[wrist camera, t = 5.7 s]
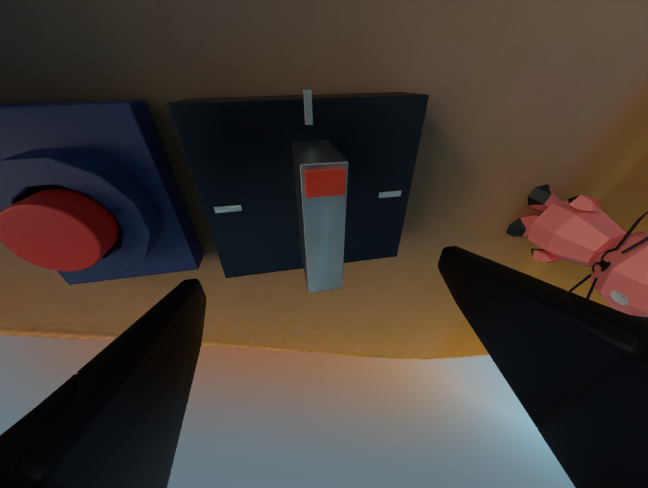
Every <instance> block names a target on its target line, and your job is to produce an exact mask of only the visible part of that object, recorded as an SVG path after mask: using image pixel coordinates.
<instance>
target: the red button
mask: <svg viewBox="0 0 648 488" xmlns="http://www.w3.org/2000/svg"><path fill="white" fill-rule="evenodd" d="M118 237H119V226H118V223H117V221H116V219H115V218H114V216H113V215H112V214H111V212H110V211H109V210H108V209H107V208H106V207H104V206H103V205H102V204H101V203H99V202H98V201H96V200H94V199H93V198H91V197H89V196H87V195H84V194H82V193H79V192H75V191H72V190H66V189H48V190H43V191H40V192H38V193H36V194H34V195H32V196H29V197H27V198H25V199H23V200H21V201H19V202H17V203H15V204H13V205H11V206H9V207H7V208H5V209H4V210H2V211H1V212H0V239H1V241H2V242H3V243H4V245H5V246H6V247H7V248H8V249H10V250H11V251H12V252H13V253H15V254H16V255H18V256H19V257H21V258H22V259H24V260H26V261H28V262H30V263H32V264H35V265H38V266H41V267H44V268H47V269H52V270H57V271H78V270H83V269H86V268H89V267H91V266H93V265H94V264H96V263H97V262H98V261H99V260H100V259H101V258H102V257H103V256H104V255H105V254H106V252H107V251H108V250H109V249H110V248H111V247H112V246H113V245H114V244H115V243H116V242H117V240H118Z"/></svg>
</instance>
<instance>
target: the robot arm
mask: <svg viewBox="0 0 648 488" xmlns="http://www.w3.org/2000/svg"><path fill="white" fill-rule="evenodd" d="M438 268H439V271H440V273H441V275H442V277H443V279H444V281H445V283H446V285H447V287H448V288H449V290H450V292H451V294H452V296H453V298H454V300H455V302H456V304H457V305H458V307H459V308H460V310H461V311H462V313H463V315H464V316H465V318H466V319H467V321H468V322H469V324H470V325H471V327H472V328H473V330H474V331H475V333H476V335H477V336H478V338H479V339H480V341H481V342H482V344H483V345H484V347H485V348H486V350H487V352H488V353H489V355H490V356H491V358H492V359H493V361H494V362H495V364H496V365H497V367H498V368H499V370H500V372H501V373H502V374H503V376H504V378H505V379H506V381H507V382H508V384H509V385H510V387H511V388H512V390H513V392H514V393H515V395H516V396H517V398H518V399H519V401H520V402H521V404H522V405H523V407H524V408H525V410H526V412H527V413H528V415H529V416H530V418H531V419H532V421H533V422H534V424H535V425H536V427H538V430H539V432H540V433H541V435H542V437H543V438H544V440H545V441H546V443H547V444H548V446H549V447H550V449H551V450H552V452H553V454H554V455H555V457H556V458H557V460H558V461H559V463H560V464H561V466H562V467H563V469H564V470H565V472H566V474H567V475H568V477H569V478H570V480H571V481H572V483H573V484H574V486H575V487H576V488H648V321H646V320H643V319H640V318H637V317H634V316H632V315H629V314H626V313H623V312H621V311H618V310H615V309H613V308H610V307H607V306H604V305H602V304H599V303H597V302H594V301H592V300H589V299H587V298H584V297H581V296H579V295H577V294H574V293H572V292H567V291H566V290H564V289H561V288H559V287H556V286H554V285H551V284H549V283H546V282H544V281H542V280H539V279H537V278H534V277H532V276H529V275H527V274H524V273H522V272H519V271H517V270H514V269H512V268H509V267H507V266H504V265H502V264H499V263H497V262H494V261H492V260H489V259H487V258H484V257H482V256H479V255H477V254H474V253H472V252H469V251H467V250H464V249H462V248H459V247H457V246H450V247H445V248H444V249H443V250H442V253H441V256H440V259H439V262H438ZM205 309H206V295H205V293H204V291H203V288H202V286H201V284H200V282H199V280H198V279H188V280H184V281H182V282H181V283H180V284H179V285H178V286H177V287H175V288H174V289H173V290H172V291H171V292H170V293H168V294H167V295H166V296H165V297H164V298H163V299H161V300H160V301H159V302H158V303H157V304H156V305H154V306H153V307H152V308H151V309H150V310H149V311H148V312H146V313H145V314H144V315H143V316H142V317H141V318H139V319H138V320H137V321H136V322H135V323H134V324H132V325H131V326H130V327H129V328H128V329H127V330H125V331H124V332H123V333H122V334H121V335H120V336H118V337H117V338H116V339H115V340H114V341H113V342H112V343H110V344H109V345H108V346H107V347H106V348H105V349H103V350H102V351H101V352H100V353H99V354H98V355H96V356H95V357H94V358H93V359H92V360H91V361H90V362H88V363H87V364H86V365H85V366H84V367H82V368H81V369H80V370H79V371H78V373H77V374H75V375H73V376H72V377H71V378H70V379H68V380H67V381H66V382H65V383H64V384H63V385H61V386H60V387H59V388H58V389H57V390H56V391H54V392H53V393H52V394H51V395H50V396H48V398H46V399H45V400H44V401H43V402H41V403H40V404H39V405H38V406H36V408H34V409H33V410H32V411H30V412H29V413H28V414H27V415H25V416H24V417H23V418H22V419H20V420H19V421H18V422H17V423H15V424H14V425H13V426H12V427H10V428H9V429H8V430H7V431H5V432H4V433H3V434H2V435H0V488H167V485H168V481H169V477H170V473H171V468H172V464H173V460H174V456H175V452H176V447H177V443H178V439H179V435H180V430H181V427H182V423H183V418H184V414H185V410H186V406H187V402H188V398H189V393H190V389H191V385H192V381H193V377H194V373H195V368H196V364H197V360H198V356H199V352H200V347H201V342H202V335H203V326H204V317H205Z"/></svg>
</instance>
